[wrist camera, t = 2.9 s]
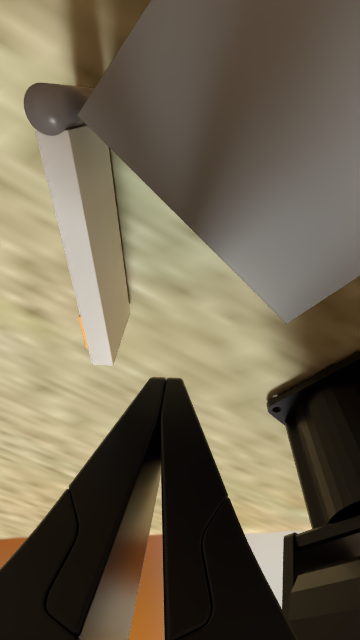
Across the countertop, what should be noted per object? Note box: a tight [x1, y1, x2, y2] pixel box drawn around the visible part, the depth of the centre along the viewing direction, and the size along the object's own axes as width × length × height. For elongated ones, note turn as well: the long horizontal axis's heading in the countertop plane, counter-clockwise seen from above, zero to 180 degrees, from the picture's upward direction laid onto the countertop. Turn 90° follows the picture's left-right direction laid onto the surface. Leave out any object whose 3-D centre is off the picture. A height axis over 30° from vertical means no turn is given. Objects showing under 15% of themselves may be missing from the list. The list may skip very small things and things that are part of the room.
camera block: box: [77, 0, 360, 324], centre depth 7 cm, size 10×9×5 cm
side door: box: [24, 83, 130, 365], centre depth 11 cm, size 2×9×4 cm, turn 1°
